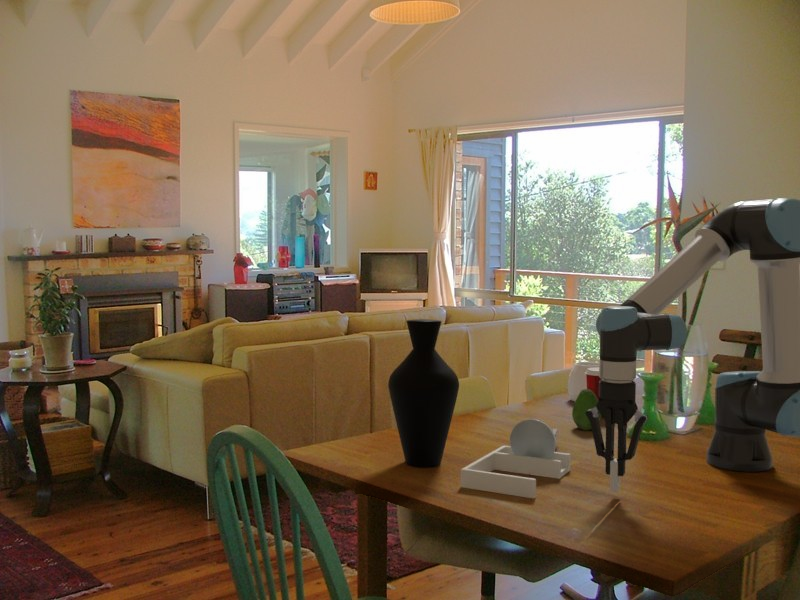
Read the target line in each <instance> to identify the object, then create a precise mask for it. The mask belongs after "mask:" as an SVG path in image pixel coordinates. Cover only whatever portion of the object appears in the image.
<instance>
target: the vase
mask: <svg viewBox="0 0 800 600" xmlns="http://www.w3.org/2000/svg"><path fill="white" fill-rule="evenodd" d="M441 324H442V320H439V319H425V318H424V319H423V318H422V319H420V318H419V319H408V320H406V325H407V329H408V333H409V338H410V342H411V346H412V349H411V350H410V352H409V353H408V354H407V356H406V357H405V358H404V359H403V360H402V361H401V363H399V365H398V366H396V368H394V370H393V371H392V373H391V374H390V376H389V378H388V384H387V385H388V392H389V396H390V401H391V406H392V410H393V414H394V415H393V416H394V419H395V422H396V427H397V432H398V434H399V439H400V444H401V448H402V451H403V452H402V453H403V457H404V460H405V463H406V465H408V466H409V467H412V468H419V469H431V468H435V467H437V468H438V467H439V466H441V464H442V460H443V456H444V451H445V448H446V444H447V439H448V436H449V433H450V432H449V431H450V428H451V424H452V420H453V419H452V418H453V416H454V410H455V407H456V403H457V399H458V395H459V389H460V382H459V378H458V375H457V374H456V372H455V371H454V369H452V367H451V366H449V364H448V363H447V362H446V361H445V360H444V359H443V357H442V356H441V355H440V354H439V353H438V351H437V350H436V344H437V341H438V338H439V337H438V336H439V333H440V331H441V330H440V329H441V326H442V325H441Z"/></svg>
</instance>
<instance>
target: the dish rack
mask: <svg viewBox="0 0 800 600" xmlns="http://www.w3.org/2000/svg"><path fill="white" fill-rule="evenodd" d="M495 470H497V471H501V472H502V471H503V472H509V473H515V474H516V473H517V474H522V475H529V474H530V475H532V476H535V477H536V476H537V477H545V478H552V479H558V480H560V479H562V477H564V476H565V475H567V474H568V473H569V472H570V471H571V453H566V452H559V451H555V452H554V454H553V456H552V457H551V458H550V459H545V458H537V457H530V456H522V455H515V454H514V453H513V451H512V449H511V445H502V446H500V447H498V448H496V449H494V450H493V451H491V452H489V453H487V454H486V455H484V456H482V457H480V458H478V459H477V460H475V461H473V462H471V463H470V464H468V465H466V466H465V467H462V468H461V469H460V488H463V489H469V490H477V491H483V492H490V493H497V494H503V495H508V496H515V497H521V498H522V497H523V498H528V499H536V498H537V479H536V478H533V477H525V476H520V475H511V474H507V473H506V474H504V473H499V472H498V473H497V472H493V471H495Z"/></svg>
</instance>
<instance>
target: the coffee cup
mask: <svg viewBox="0 0 800 600" xmlns="http://www.w3.org/2000/svg"><path fill="white" fill-rule="evenodd" d="M585 374H586V379H587V389H589V390H591V391H592V392H593V393H594V394H595V395H596V398H597V400H599V381H600V380H602V379H601V378H600V377H599V368H588V369H587V370H586V372H585ZM600 419H603V417H602V416H601V418H600Z"/></svg>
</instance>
